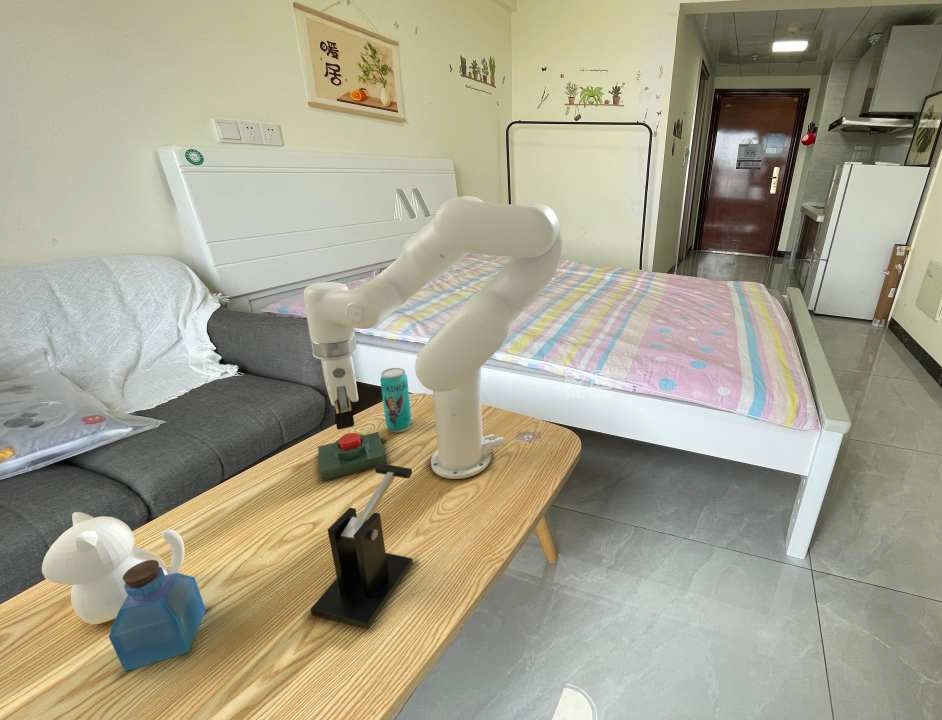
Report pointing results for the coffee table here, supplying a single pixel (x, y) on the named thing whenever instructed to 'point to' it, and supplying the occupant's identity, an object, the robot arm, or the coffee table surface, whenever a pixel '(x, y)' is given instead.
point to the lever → (374, 498)
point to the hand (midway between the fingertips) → (345, 426)
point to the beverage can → (396, 399)
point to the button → (349, 441)
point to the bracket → (360, 574)
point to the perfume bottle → (156, 616)
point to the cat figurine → (101, 563)
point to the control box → (351, 457)
